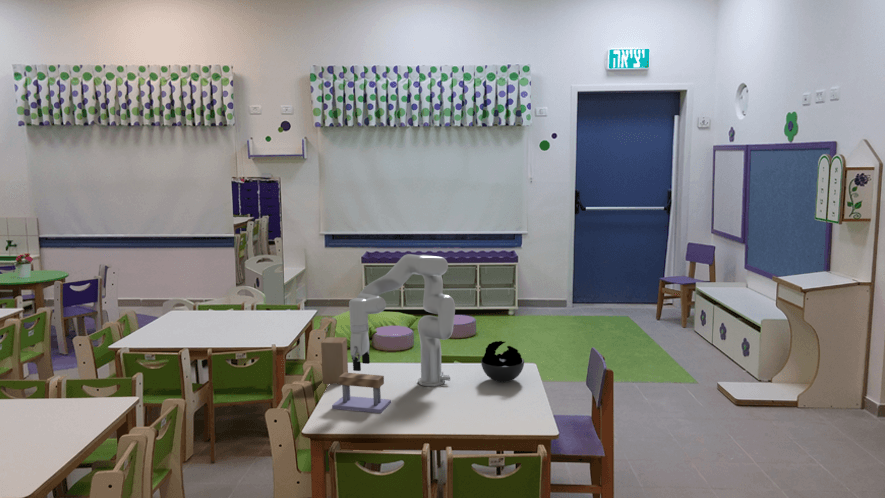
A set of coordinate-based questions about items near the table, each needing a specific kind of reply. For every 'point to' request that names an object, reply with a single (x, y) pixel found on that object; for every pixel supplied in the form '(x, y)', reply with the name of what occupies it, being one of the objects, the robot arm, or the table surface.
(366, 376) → the shelf board
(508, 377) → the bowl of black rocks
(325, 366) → the wooden block
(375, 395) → the peg stand
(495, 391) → the table surface
